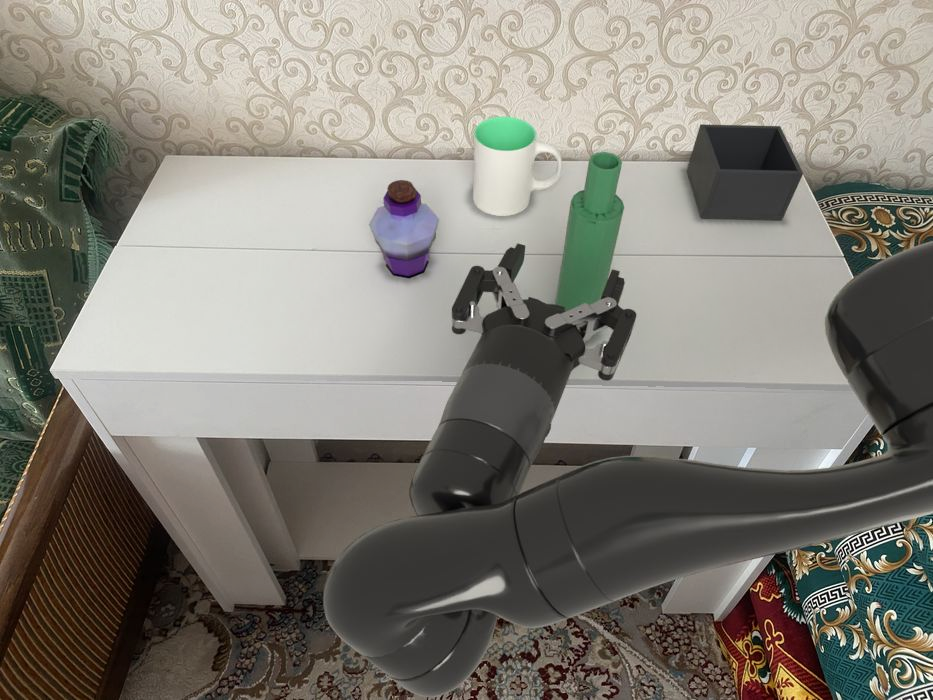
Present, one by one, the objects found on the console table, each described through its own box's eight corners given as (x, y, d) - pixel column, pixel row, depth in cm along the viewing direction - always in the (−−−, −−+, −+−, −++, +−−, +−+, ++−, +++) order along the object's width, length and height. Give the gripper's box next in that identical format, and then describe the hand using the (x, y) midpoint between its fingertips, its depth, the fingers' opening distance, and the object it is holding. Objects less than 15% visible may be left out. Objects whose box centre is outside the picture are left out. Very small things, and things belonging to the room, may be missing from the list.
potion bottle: (454, 259, 89) (453, 182, 80) (411, 296, 85) (405, 220, 76) (403, 233, 92) (397, 156, 83) (360, 267, 88) (348, 190, 79)
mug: (554, 180, 100) (562, 116, 92) (560, 215, 95) (569, 150, 87) (472, 181, 100) (473, 116, 92) (473, 216, 95) (475, 151, 87)
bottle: (600, 316, 83) (638, 151, 65) (590, 347, 80) (627, 182, 62) (558, 305, 84) (585, 141, 66) (547, 335, 81) (571, 170, 63)
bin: (761, 172, 102) (780, 125, 96) (781, 220, 95) (803, 173, 89) (686, 171, 102) (700, 124, 96) (700, 219, 95) (716, 171, 89)
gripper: (607, 402, 46) (656, 252, 56) (413, 340, 49) (492, 209, 59) (590, 460, 52) (637, 315, 61) (418, 402, 55) (489, 273, 65)
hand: (566, 264), depth 60 cm, fingers open, 8 cm apart
